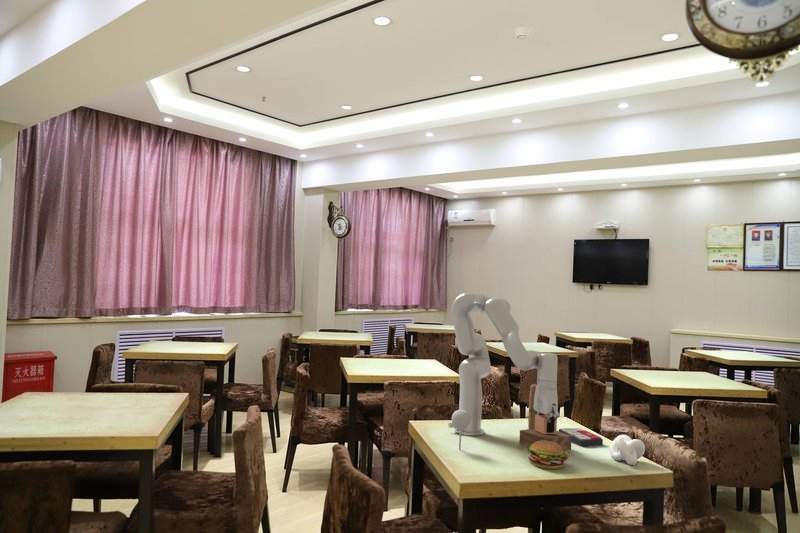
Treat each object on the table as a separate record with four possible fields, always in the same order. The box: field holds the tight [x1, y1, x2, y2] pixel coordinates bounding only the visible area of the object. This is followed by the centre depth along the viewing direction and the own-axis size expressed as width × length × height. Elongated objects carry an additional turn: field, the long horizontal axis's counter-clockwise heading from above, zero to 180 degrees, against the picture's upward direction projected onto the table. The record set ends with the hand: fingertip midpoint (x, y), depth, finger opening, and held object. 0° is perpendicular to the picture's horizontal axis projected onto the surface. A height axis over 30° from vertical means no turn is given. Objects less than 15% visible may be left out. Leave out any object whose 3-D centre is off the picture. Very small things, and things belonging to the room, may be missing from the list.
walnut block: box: [518, 428, 572, 452], centre depth 205 cm, size 14×14×6 cm
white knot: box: [609, 434, 646, 466], centre depth 192 cm, size 11×12×9 cm
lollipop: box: [451, 409, 470, 451], centre depth 196 cm, size 7×7×15 cm
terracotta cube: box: [535, 415, 558, 434], centre depth 205 cm, size 6×6×6 cm
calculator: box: [558, 427, 604, 448], centre depth 217 cm, size 11×4×15 cm
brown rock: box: [527, 383, 545, 429], centre depth 234 cm, size 11×8×20 cm
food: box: [527, 440, 570, 470], centre depth 183 cm, size 14×14×8 cm
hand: (545, 429), depth 205 cm, fingers closed on terracotta cube, 5 cm apart
